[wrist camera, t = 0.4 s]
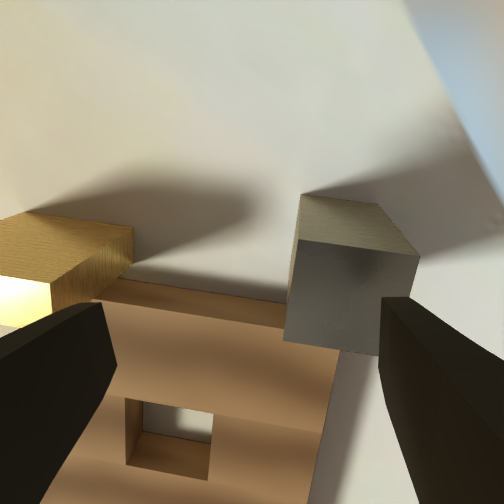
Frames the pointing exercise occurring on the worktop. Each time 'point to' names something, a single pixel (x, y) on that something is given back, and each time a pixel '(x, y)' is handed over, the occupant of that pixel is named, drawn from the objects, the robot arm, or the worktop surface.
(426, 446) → the robot arm
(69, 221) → the block
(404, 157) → the worktop surface
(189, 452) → the plate
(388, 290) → the square bit
